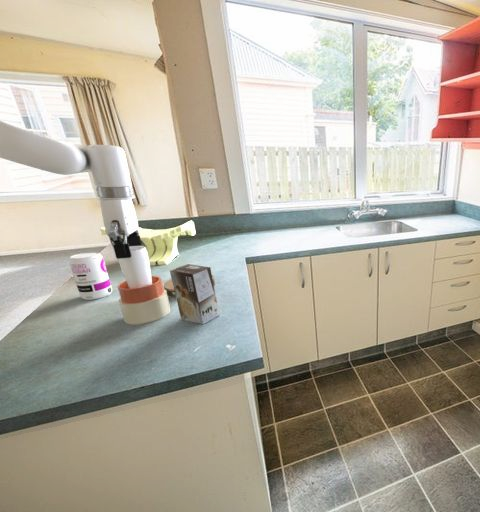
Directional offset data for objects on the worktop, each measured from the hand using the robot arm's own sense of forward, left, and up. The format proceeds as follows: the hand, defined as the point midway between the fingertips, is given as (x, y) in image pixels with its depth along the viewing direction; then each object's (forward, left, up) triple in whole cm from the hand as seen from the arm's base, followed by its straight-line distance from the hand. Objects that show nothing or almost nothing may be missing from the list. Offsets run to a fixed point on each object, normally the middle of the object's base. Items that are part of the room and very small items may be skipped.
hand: (130, 252), depth 86 cm
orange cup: (0, 0, -20) cm, 20 cm away
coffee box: (+15, -8, -21) cm, 27 cm away
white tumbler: (0, 0, -14) cm, 14 cm away
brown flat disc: (+9, +18, -21) cm, 29 cm away
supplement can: (-20, +23, -21) cm, 37 cm away
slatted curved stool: (-10, +61, -21) cm, 65 cm away
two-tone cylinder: (0, 0, -20) cm, 20 cm away
